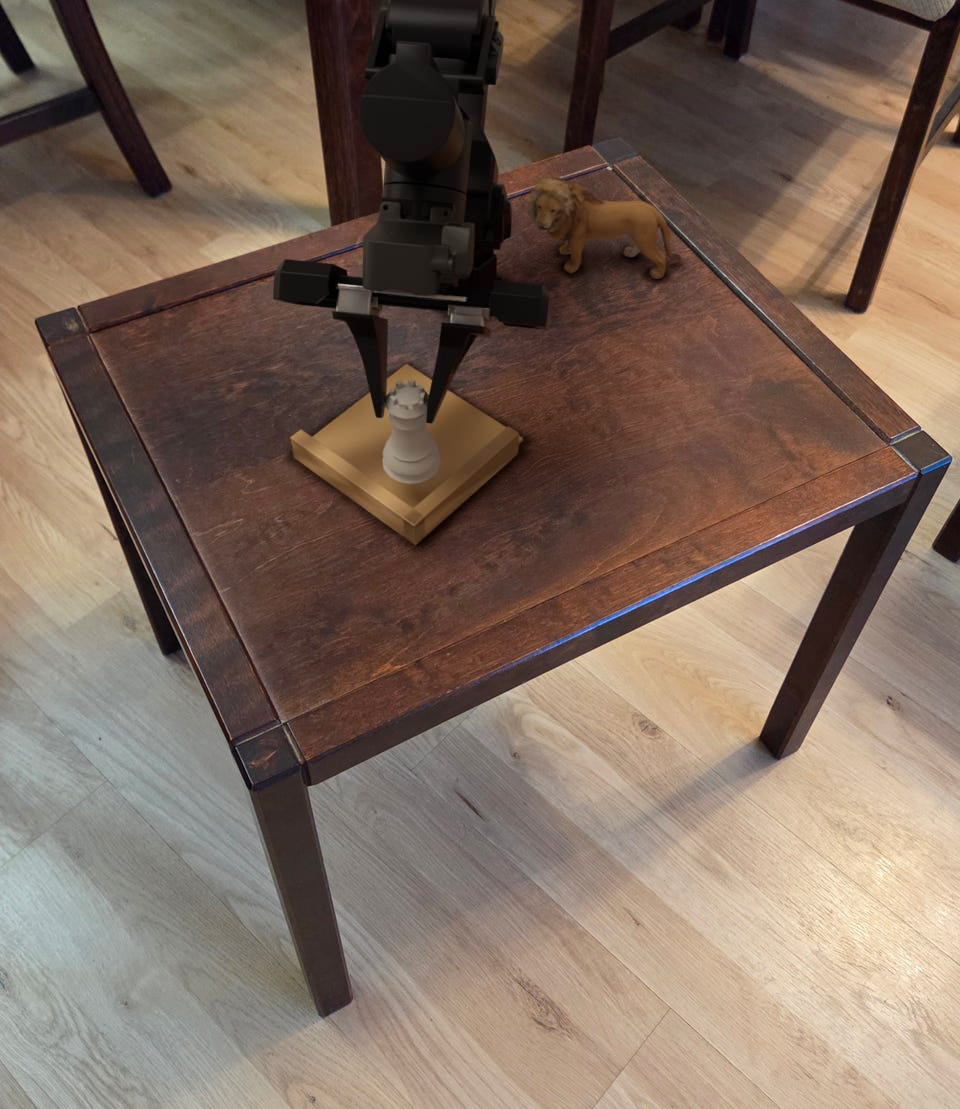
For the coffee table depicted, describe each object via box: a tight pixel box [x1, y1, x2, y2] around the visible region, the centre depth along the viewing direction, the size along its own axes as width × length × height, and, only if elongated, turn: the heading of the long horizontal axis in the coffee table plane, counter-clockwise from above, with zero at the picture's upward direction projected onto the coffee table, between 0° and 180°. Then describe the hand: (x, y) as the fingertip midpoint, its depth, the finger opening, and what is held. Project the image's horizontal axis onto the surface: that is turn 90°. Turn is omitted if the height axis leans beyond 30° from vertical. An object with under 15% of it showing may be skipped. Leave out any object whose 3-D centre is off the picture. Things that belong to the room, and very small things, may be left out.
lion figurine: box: [527, 177, 682, 280], centre depth 96 cm, size 15×5×9 cm, turn 92°
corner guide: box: [290, 363, 524, 546], centre depth 84 cm, size 14×14×2 cm
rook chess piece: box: [383, 379, 441, 484], centre depth 78 cm, size 4×4×8 cm
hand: (404, 420), depth 75 cm, fingers closed on rook chess piece, 3 cm apart
